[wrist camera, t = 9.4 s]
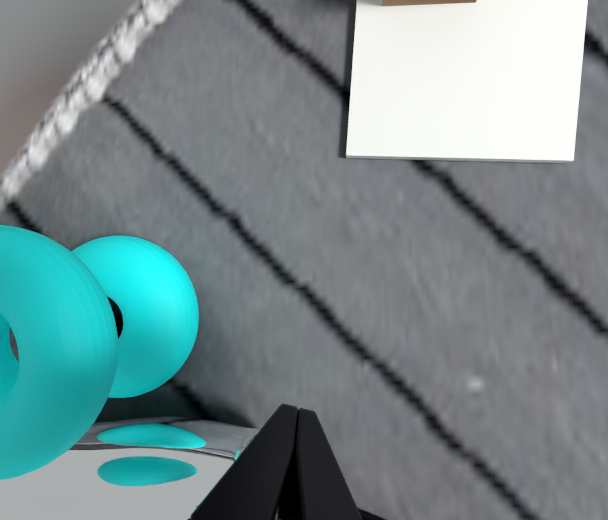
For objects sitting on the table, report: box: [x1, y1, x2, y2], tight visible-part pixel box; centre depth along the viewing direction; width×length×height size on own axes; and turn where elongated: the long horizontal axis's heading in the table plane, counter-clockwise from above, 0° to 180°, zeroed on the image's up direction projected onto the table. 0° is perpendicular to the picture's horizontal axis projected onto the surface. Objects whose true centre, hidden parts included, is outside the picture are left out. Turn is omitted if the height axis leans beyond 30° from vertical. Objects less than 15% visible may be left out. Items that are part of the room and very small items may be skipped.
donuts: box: [0, 225, 199, 480], centre depth 16 cm, size 10×10×10 cm
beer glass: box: [0, 417, 260, 520], centre depth 18 cm, size 7×7×15 cm
